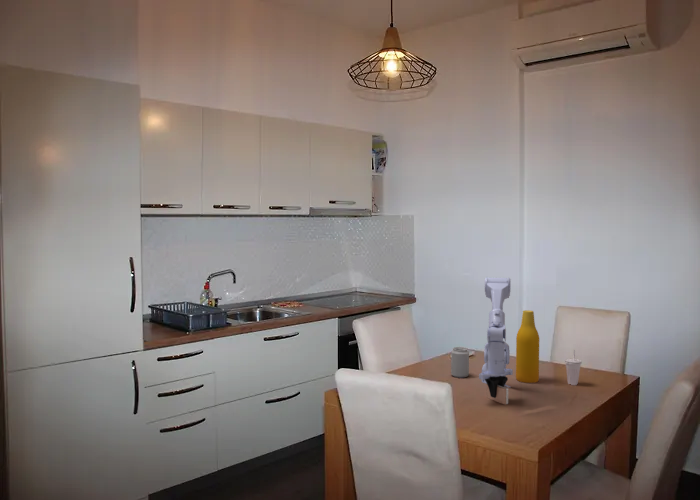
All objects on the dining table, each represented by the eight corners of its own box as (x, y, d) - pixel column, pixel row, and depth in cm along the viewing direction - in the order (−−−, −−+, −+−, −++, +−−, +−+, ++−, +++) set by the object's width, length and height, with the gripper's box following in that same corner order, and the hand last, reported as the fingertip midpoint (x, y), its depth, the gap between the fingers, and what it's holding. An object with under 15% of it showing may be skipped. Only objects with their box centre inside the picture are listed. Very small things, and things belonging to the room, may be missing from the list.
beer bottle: (529, 376, 246) (530, 308, 244) (543, 382, 237) (544, 312, 235) (511, 378, 242) (512, 310, 241) (524, 384, 234) (525, 313, 232)
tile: (486, 399, 213) (487, 383, 212) (490, 398, 214) (490, 382, 213) (504, 405, 205) (504, 389, 205) (508, 405, 206) (508, 388, 205)
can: (456, 372, 252) (456, 345, 251) (472, 375, 247) (472, 347, 246) (447, 376, 246) (448, 348, 245) (463, 379, 241) (463, 351, 241)
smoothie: (570, 386, 230) (571, 352, 229) (561, 382, 236) (561, 348, 236) (584, 385, 232) (585, 351, 231) (574, 381, 238) (575, 347, 237)
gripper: (488, 364, 202) (488, 402, 203) (519, 359, 209) (518, 396, 210) (475, 360, 208) (474, 397, 209) (505, 355, 215) (504, 391, 216)
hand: (495, 396), depth 210 cm, fingers closed on tile, 2 cm apart
